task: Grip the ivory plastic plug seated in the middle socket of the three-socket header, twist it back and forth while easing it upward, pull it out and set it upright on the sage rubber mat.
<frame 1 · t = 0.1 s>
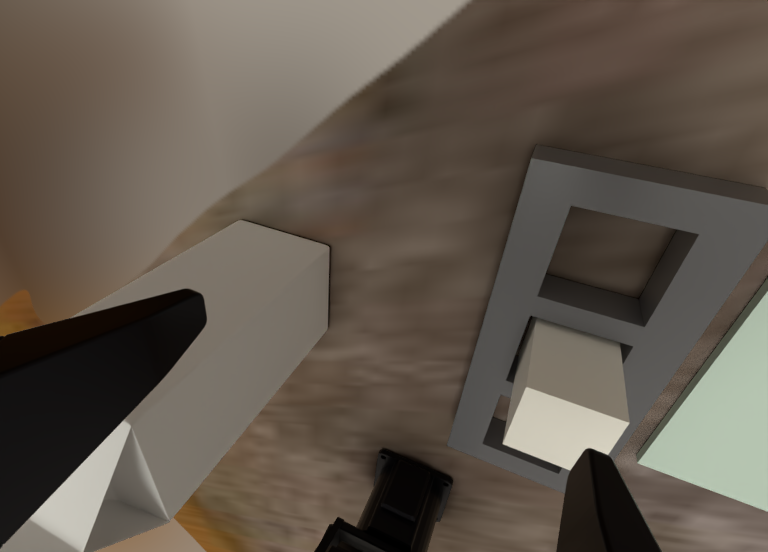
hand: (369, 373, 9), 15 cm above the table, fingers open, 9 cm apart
header: (565, 337, 23), on the table
milk carton: (288, 273, 29), on the table
plug: (562, 378, 20), in the header
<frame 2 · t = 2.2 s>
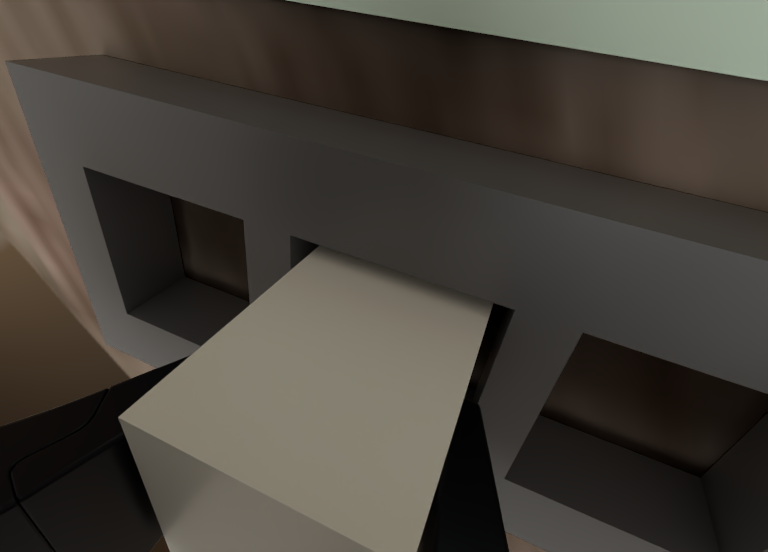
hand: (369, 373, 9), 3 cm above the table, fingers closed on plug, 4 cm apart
header: (413, 300, 11), on the table
plug: (360, 387, 9), in the header, touching gripper
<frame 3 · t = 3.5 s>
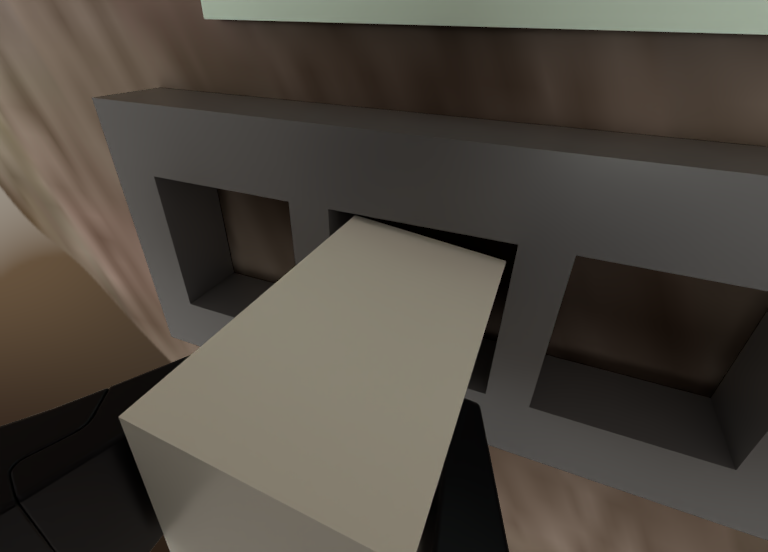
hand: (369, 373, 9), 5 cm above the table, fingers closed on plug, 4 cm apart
header: (435, 264, 13), on the table
plug: (360, 387, 9), point 6 cm above the table, touching gripper
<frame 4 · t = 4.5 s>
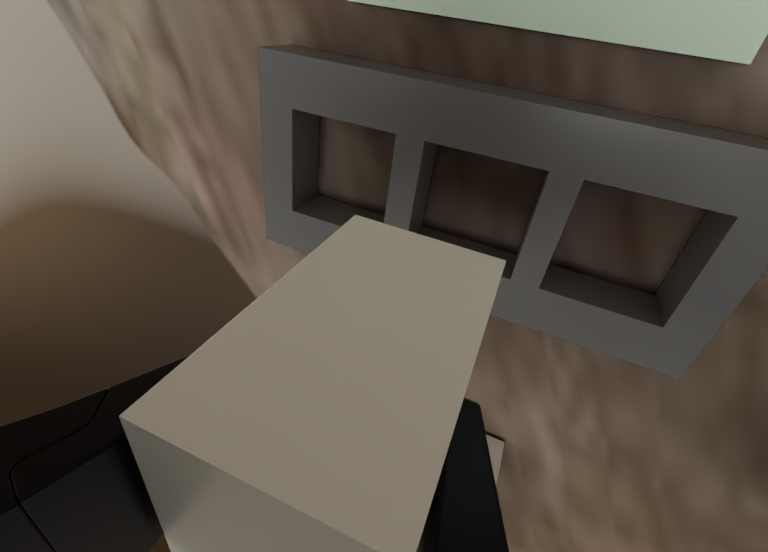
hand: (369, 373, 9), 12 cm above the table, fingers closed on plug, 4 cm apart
header: (480, 194, 19), on the table
milk carton: (441, 446, 29), on the table
plug: (360, 387, 9), point 13 cm above the table, touching gripper
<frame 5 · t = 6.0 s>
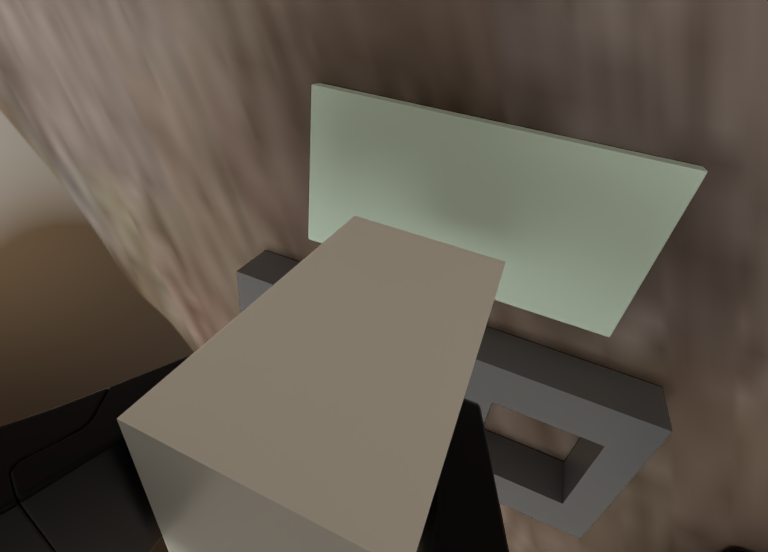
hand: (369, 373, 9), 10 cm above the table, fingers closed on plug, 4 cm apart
header: (423, 373, 22), on the table
mat: (466, 207, 17), on the table
plug: (360, 388, 9), point 10 cm above the table, touching gripper
when the fingers open (5 cm above the table, at t = 7.1 s): plug drops 1 cm, resting on mat.
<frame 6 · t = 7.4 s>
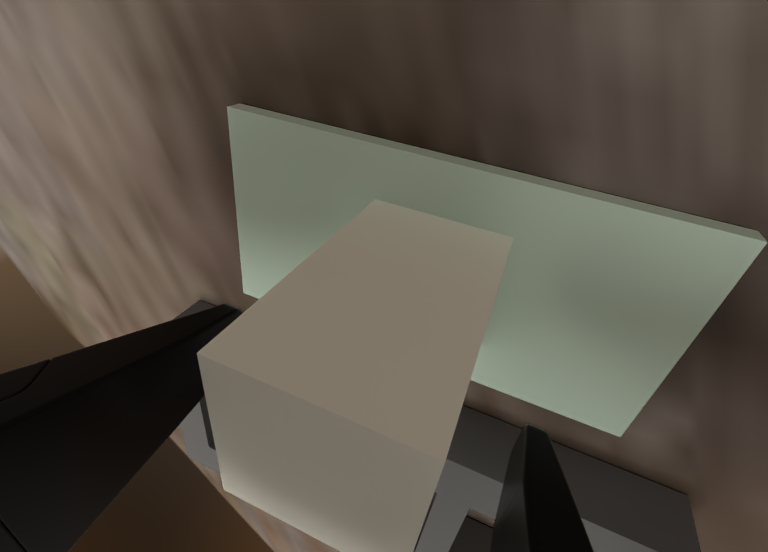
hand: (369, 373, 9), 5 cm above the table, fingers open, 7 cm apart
header: (390, 449, 19), on the table
mat: (432, 265, 13), on the table
plug: (385, 348, 10), on the mat, point 4 cm above the table
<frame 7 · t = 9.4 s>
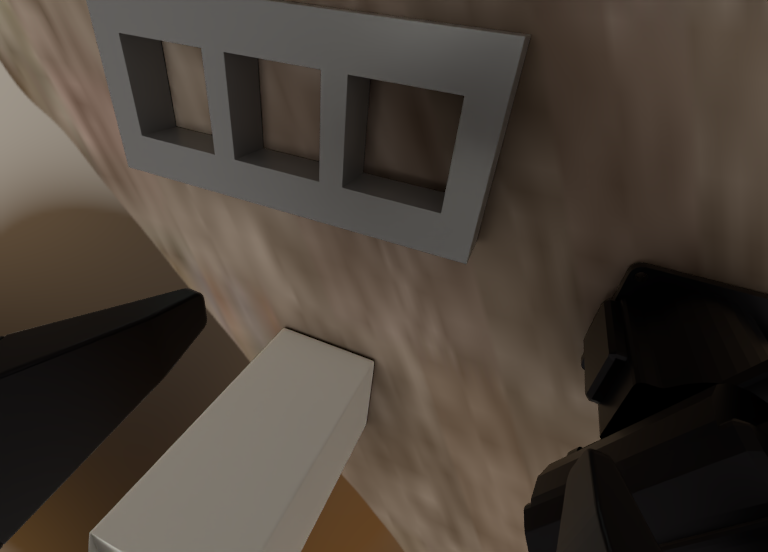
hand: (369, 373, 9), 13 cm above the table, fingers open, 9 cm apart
header: (301, 110, 20), on the table
milk carton: (328, 374, 31), on the table
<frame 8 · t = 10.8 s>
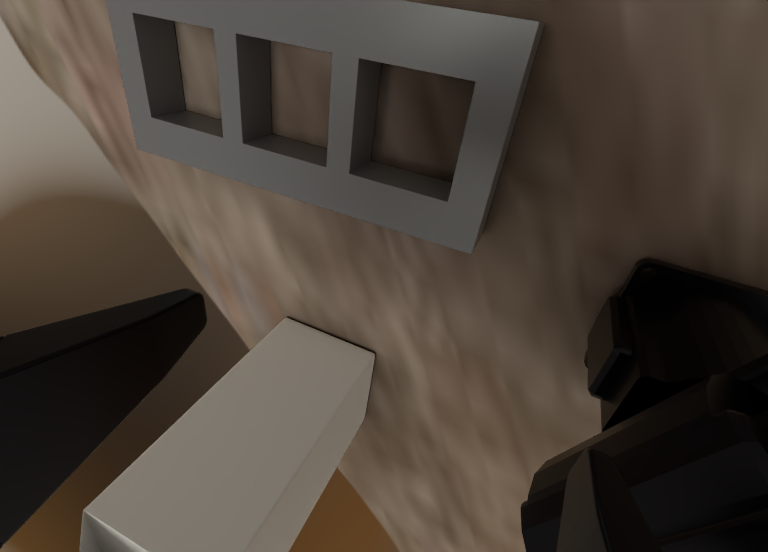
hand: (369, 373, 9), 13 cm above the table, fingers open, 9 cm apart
header: (310, 96, 20), on the table
milk carton: (328, 366, 30), on the table
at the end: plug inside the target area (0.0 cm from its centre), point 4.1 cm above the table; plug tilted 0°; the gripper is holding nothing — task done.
